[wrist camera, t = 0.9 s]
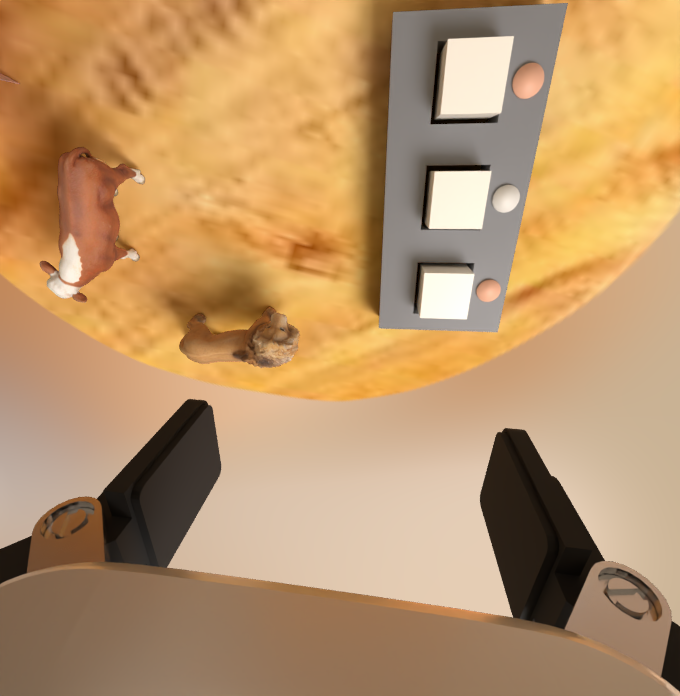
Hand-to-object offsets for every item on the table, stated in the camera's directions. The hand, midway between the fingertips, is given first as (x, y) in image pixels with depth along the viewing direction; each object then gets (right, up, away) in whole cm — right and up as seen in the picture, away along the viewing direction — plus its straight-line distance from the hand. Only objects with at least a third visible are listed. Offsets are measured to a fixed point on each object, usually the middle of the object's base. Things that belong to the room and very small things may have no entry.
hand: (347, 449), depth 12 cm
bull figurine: (-22, +16, +24) cm, 36 cm away
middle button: (+9, +16, +18) cm, 26 cm away
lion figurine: (-10, +6, +27) cm, 30 cm away
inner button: (+9, +23, +15) cm, 28 cm away
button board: (+9, +17, +19) cm, 27 cm away
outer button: (+9, +9, +21) cm, 25 cm away
